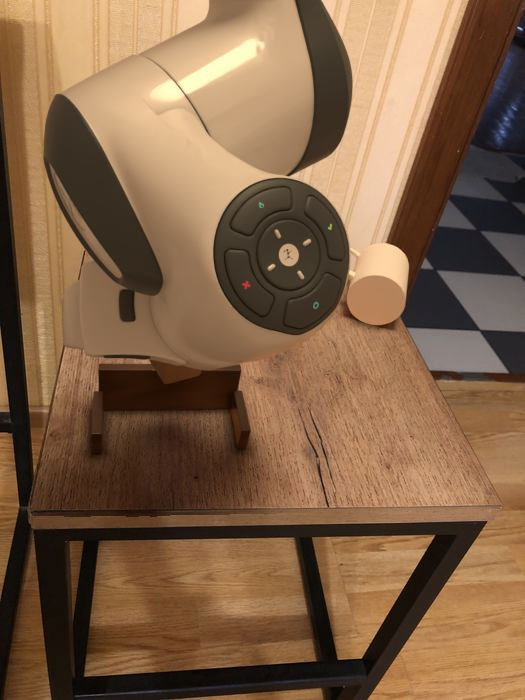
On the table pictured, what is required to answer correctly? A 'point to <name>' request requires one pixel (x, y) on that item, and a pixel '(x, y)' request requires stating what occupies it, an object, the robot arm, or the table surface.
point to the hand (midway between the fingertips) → (176, 328)
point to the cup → (378, 284)
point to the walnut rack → (167, 395)
